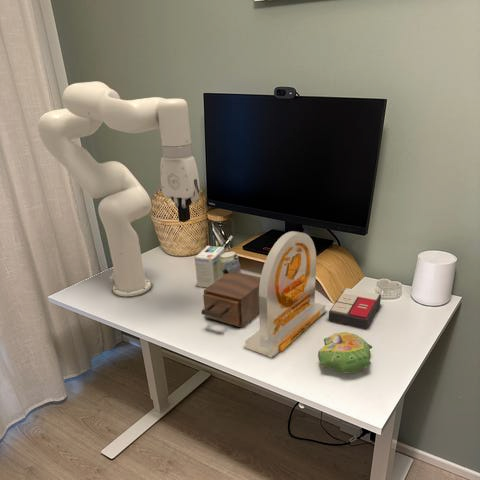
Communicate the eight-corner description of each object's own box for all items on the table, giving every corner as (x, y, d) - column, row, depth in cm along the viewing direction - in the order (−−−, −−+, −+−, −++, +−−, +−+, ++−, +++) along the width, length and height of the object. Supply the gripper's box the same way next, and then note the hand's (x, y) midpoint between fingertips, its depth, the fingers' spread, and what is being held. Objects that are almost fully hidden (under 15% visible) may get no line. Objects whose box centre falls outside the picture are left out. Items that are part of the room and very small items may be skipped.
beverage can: (241, 292, 147) (240, 257, 141) (219, 291, 148) (217, 257, 142) (245, 283, 152) (243, 250, 146) (224, 282, 153) (221, 249, 147)
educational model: (375, 346, 117) (377, 328, 114) (368, 384, 104) (370, 364, 101) (326, 339, 121) (327, 321, 118) (313, 374, 108) (314, 355, 105)
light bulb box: (209, 273, 160) (206, 244, 155) (226, 275, 158) (225, 246, 153) (196, 286, 152) (193, 256, 146) (215, 288, 150) (212, 258, 144)
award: (273, 358, 114) (272, 256, 100) (245, 347, 119) (241, 248, 105) (326, 312, 133) (332, 221, 119) (300, 304, 138) (303, 215, 124)
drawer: (228, 334, 123) (227, 311, 119) (195, 324, 128) (192, 302, 125) (262, 305, 136) (261, 284, 133) (230, 297, 142) (229, 276, 138)
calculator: (328, 309, 127) (345, 285, 138) (327, 322, 129) (344, 297, 140) (367, 317, 122) (381, 292, 133) (366, 331, 124) (380, 304, 135)
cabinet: (242, 327, 128) (241, 299, 123) (206, 317, 134) (203, 289, 129) (267, 305, 138) (267, 278, 134) (232, 297, 144) (231, 270, 140)
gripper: (145, 152, 118) (155, 221, 128) (191, 156, 111) (198, 228, 120) (164, 147, 124) (172, 213, 133) (209, 150, 117) (214, 220, 126)
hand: (184, 220), depth 127 cm, fingers closed
